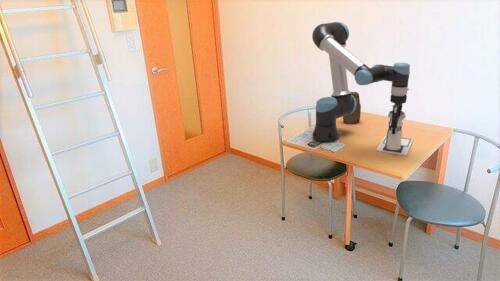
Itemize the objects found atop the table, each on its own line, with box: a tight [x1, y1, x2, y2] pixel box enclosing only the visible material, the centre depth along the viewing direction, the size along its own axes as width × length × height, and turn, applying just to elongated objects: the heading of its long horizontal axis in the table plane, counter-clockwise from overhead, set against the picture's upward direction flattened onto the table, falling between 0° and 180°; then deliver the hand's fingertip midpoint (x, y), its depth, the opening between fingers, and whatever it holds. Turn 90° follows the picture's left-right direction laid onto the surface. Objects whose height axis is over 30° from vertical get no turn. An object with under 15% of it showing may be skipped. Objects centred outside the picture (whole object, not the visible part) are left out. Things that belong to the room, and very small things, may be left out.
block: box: [342, 91, 362, 125], centre depth 232 cm, size 11×8×20 cm
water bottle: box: [385, 104, 407, 150], centre depth 186 cm, size 8×9×25 cm
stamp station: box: [376, 135, 414, 157], centre depth 196 cm, size 15×22×1 cm
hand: (394, 136), depth 188 cm, fingers closed on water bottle, 7 cm apart
